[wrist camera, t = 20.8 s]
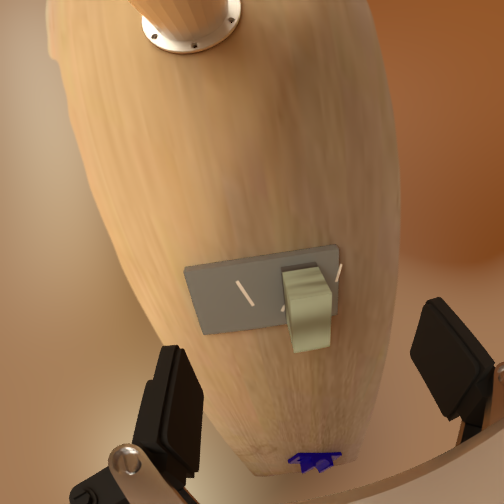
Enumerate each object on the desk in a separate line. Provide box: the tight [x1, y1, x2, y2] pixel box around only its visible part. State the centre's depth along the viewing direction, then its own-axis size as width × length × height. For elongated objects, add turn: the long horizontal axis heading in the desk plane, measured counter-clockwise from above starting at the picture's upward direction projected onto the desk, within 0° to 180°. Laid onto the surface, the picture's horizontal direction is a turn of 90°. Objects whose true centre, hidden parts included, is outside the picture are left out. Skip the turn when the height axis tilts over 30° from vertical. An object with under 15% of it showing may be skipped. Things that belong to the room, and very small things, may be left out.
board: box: [184, 244, 343, 335], centre depth 41 cm, size 12×23×2 cm, turn 98°
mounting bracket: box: [288, 452, 342, 473], centre depth 72 cm, size 18×7×6 cm, turn 67°
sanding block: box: [281, 262, 332, 353], centre depth 37 cm, size 9×5×8 cm, turn 8°
